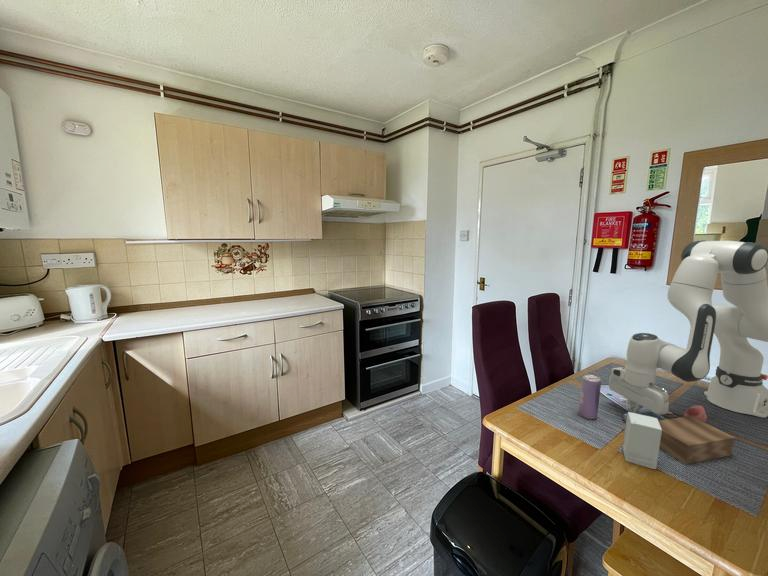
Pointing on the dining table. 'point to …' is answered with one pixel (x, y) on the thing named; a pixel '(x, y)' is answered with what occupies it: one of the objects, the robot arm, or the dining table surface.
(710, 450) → the cubby
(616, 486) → the dining table surface
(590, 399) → the beverage can
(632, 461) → the supplement box
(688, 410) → the flower
